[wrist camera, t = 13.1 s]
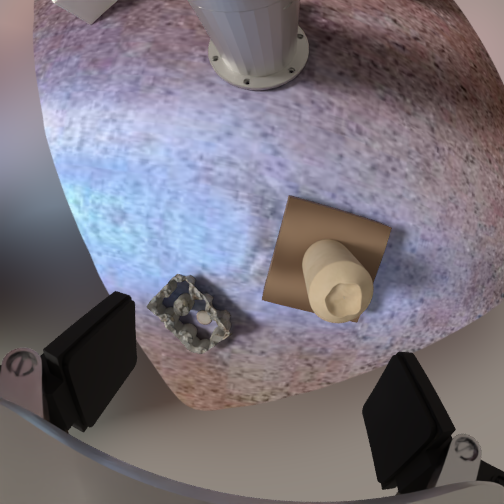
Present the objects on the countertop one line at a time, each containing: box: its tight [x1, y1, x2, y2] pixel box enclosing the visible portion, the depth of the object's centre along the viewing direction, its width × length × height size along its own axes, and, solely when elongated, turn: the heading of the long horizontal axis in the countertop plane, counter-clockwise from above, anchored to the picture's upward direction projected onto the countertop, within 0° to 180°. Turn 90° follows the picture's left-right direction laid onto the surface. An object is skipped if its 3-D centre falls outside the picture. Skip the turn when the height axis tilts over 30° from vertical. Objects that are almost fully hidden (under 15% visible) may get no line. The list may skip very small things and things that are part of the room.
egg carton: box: [147, 274, 232, 354], centre depth 36 cm, size 11×8×4 cm
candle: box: [302, 239, 373, 323], centre depth 25 cm, size 6×6×10 cm
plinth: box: [262, 195, 392, 322], centre depth 31 cm, size 12×12×4 cm
